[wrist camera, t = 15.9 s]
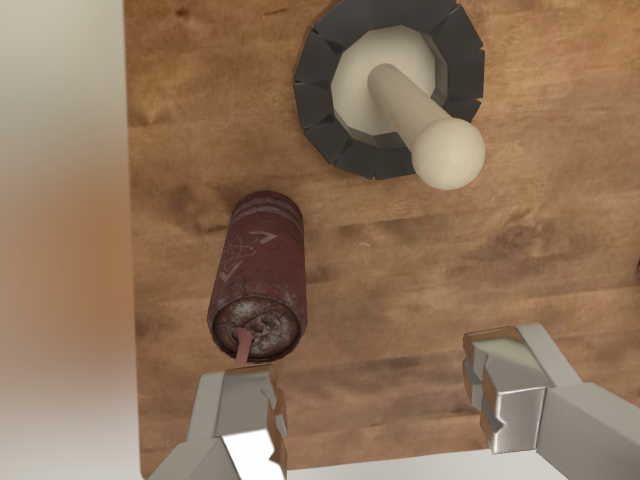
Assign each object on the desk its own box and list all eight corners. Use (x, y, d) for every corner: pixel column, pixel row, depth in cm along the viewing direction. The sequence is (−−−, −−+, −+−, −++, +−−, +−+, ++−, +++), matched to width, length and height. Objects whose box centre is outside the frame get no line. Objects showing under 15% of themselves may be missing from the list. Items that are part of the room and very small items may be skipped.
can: (226, 245, 39) (198, 365, 27) (238, 181, 36) (211, 284, 24) (293, 257, 40) (294, 378, 28) (310, 196, 37) (318, 302, 25)
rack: (329, 145, 35) (358, 276, 20) (310, 21, 30) (330, 68, 15) (442, 126, 35) (559, 244, 20) (441, -3, 30) (593, 21, 15)
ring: (310, 175, 35) (312, 191, 32) (279, -1, 28) (278, 1, 26) (466, 149, 34) (480, 163, 32) (470, -36, 28) (488, -37, 25)
